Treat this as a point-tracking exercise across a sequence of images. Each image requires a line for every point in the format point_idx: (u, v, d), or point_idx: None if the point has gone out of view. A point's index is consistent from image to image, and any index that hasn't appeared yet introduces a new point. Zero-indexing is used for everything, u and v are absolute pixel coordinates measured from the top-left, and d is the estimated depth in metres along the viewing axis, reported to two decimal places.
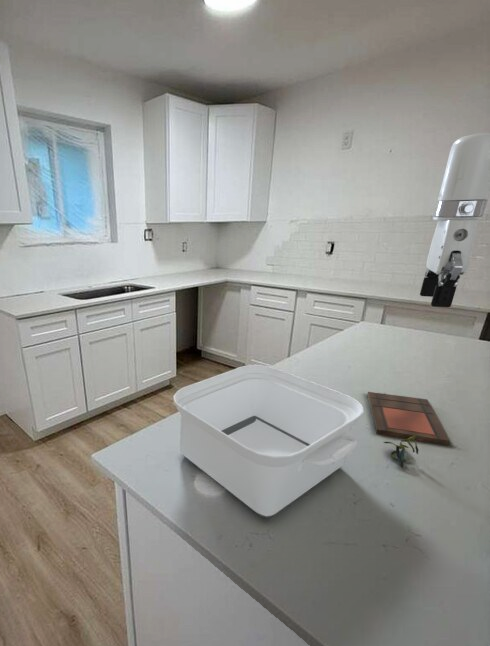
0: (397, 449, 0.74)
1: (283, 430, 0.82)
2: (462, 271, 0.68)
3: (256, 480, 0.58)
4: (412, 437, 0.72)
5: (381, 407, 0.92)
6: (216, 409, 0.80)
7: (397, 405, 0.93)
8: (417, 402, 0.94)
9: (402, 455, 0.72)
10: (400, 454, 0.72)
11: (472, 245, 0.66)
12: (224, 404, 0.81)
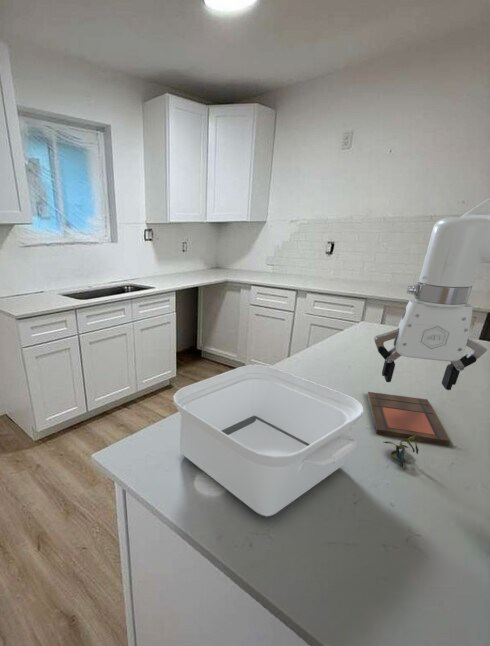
0: (397, 449, 0.74)
1: (283, 430, 0.82)
2: (396, 350, 0.67)
3: (256, 480, 0.58)
4: (412, 437, 0.72)
5: (381, 407, 0.92)
6: (216, 409, 0.80)
7: (397, 405, 0.93)
8: (417, 402, 0.94)
9: (402, 455, 0.72)
10: (400, 454, 0.72)
11: (404, 326, 0.65)
12: (224, 404, 0.81)
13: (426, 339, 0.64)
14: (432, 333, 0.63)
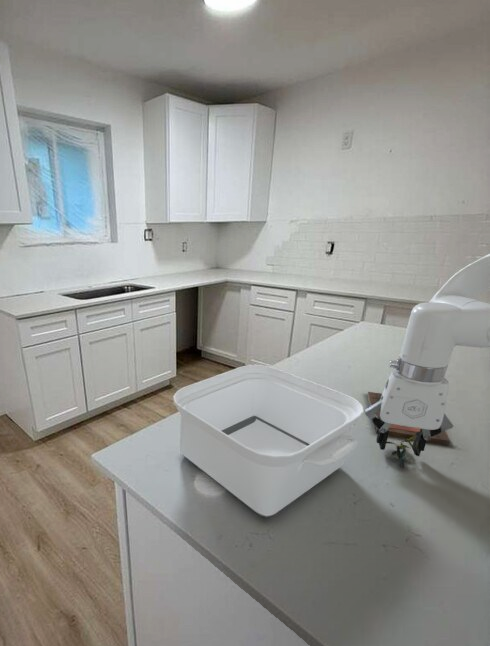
0: (398, 449, 0.74)
1: (283, 430, 0.82)
2: (380, 417, 0.72)
3: (256, 480, 0.58)
4: (413, 437, 0.72)
5: None
6: (216, 409, 0.80)
7: None
8: None
9: (403, 455, 0.72)
10: (401, 454, 0.72)
11: (387, 397, 0.70)
12: (224, 404, 0.82)
13: (407, 410, 0.69)
14: (412, 405, 0.68)
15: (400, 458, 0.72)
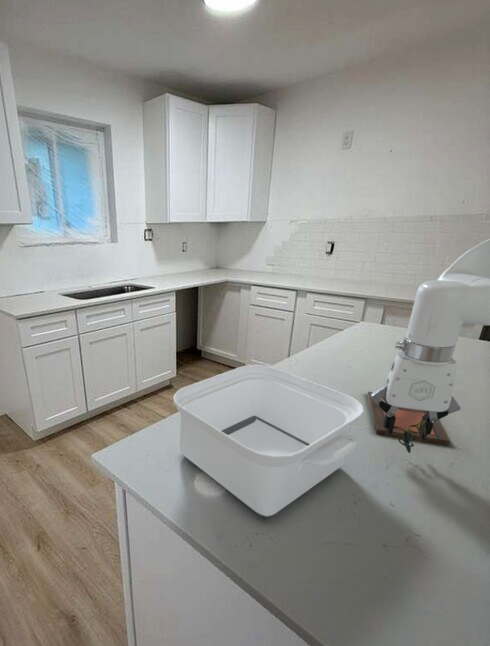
0: (405, 434, 0.72)
1: (283, 430, 0.82)
2: None
3: (256, 480, 0.58)
4: (421, 422, 0.70)
5: None
6: (216, 409, 0.80)
7: None
8: None
9: (409, 440, 0.70)
10: (407, 439, 0.71)
11: (393, 379, 0.68)
12: (224, 404, 0.81)
13: (414, 392, 0.67)
14: (419, 386, 0.67)
15: (406, 443, 0.71)
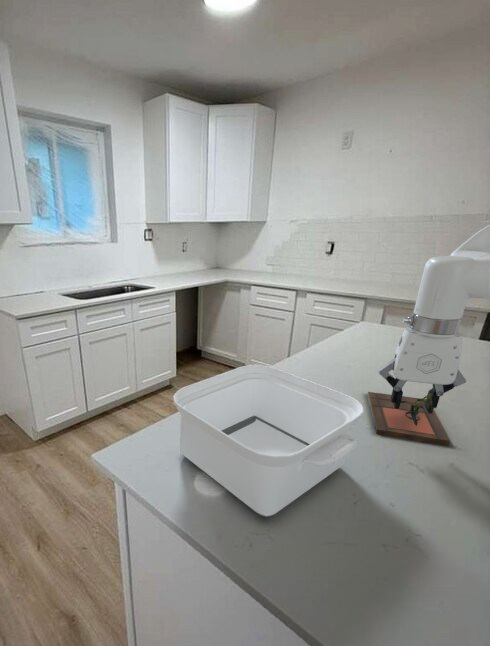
0: (412, 408, 0.74)
1: (283, 430, 0.82)
2: (394, 374, 0.73)
3: (256, 480, 0.58)
4: (428, 395, 0.72)
5: (381, 407, 0.92)
6: (216, 409, 0.80)
7: None
8: (417, 402, 0.94)
9: (416, 413, 0.73)
10: (414, 412, 0.73)
11: (400, 353, 0.71)
12: (224, 404, 0.82)
13: (421, 365, 0.70)
14: (426, 360, 0.69)
15: (413, 416, 0.73)
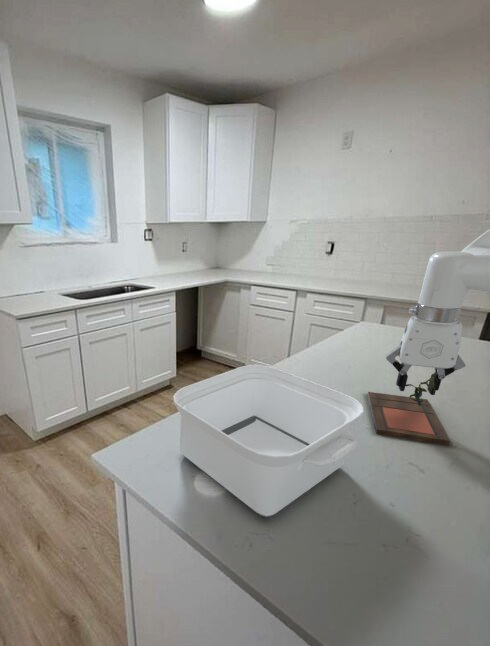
0: (416, 390, 0.82)
1: (283, 430, 0.82)
2: (400, 359, 0.80)
3: (256, 480, 0.58)
4: (430, 379, 0.80)
5: (381, 407, 0.92)
6: (216, 409, 0.80)
7: (397, 405, 0.93)
8: None
9: (420, 394, 0.80)
10: (418, 394, 0.80)
11: (406, 340, 0.78)
12: (224, 404, 0.82)
13: (424, 350, 0.77)
14: (429, 345, 0.76)
15: (417, 397, 0.80)
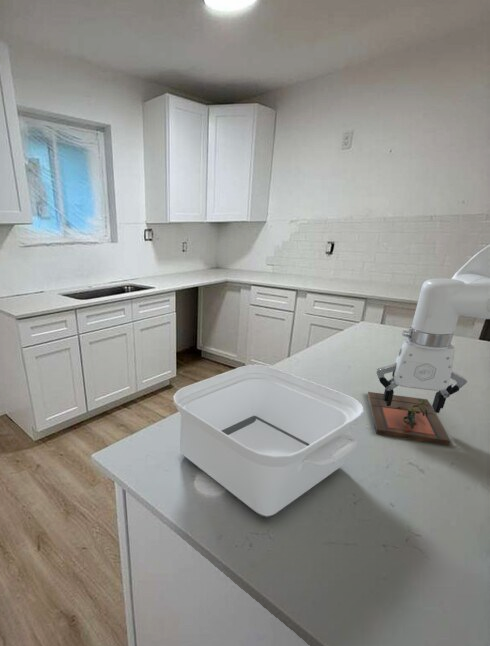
0: (409, 413, 0.84)
1: (283, 430, 0.82)
2: (394, 381, 0.82)
3: (256, 480, 0.58)
4: (422, 402, 0.82)
5: (381, 407, 0.92)
6: (216, 409, 0.80)
7: (397, 405, 0.93)
8: (417, 402, 0.94)
9: (413, 417, 0.82)
10: (411, 417, 0.83)
11: (400, 363, 0.80)
12: (224, 404, 0.82)
13: (418, 373, 0.79)
14: (423, 368, 0.78)
15: (410, 420, 0.82)
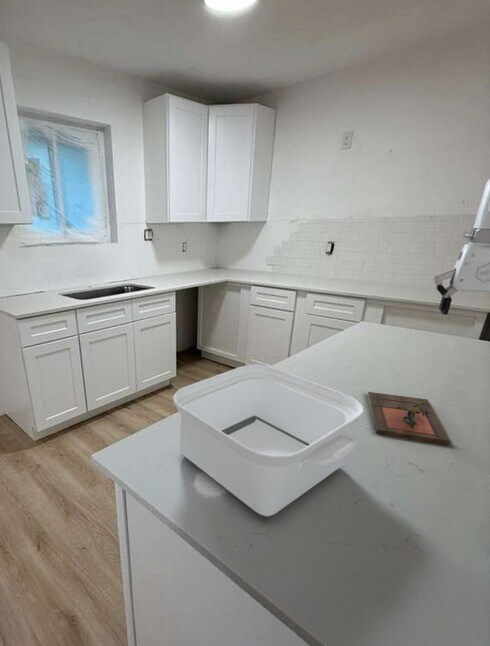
0: (409, 413, 0.84)
1: (283, 430, 0.82)
2: (453, 286, 0.82)
3: (256, 480, 0.58)
4: (422, 402, 0.82)
5: (381, 407, 0.92)
6: (216, 409, 0.80)
7: (397, 405, 0.93)
8: (417, 402, 0.94)
9: (413, 417, 0.82)
10: (411, 417, 0.83)
11: (461, 265, 0.80)
12: (224, 404, 0.82)
13: (480, 274, 0.79)
14: (485, 269, 0.78)
15: (410, 420, 0.82)
